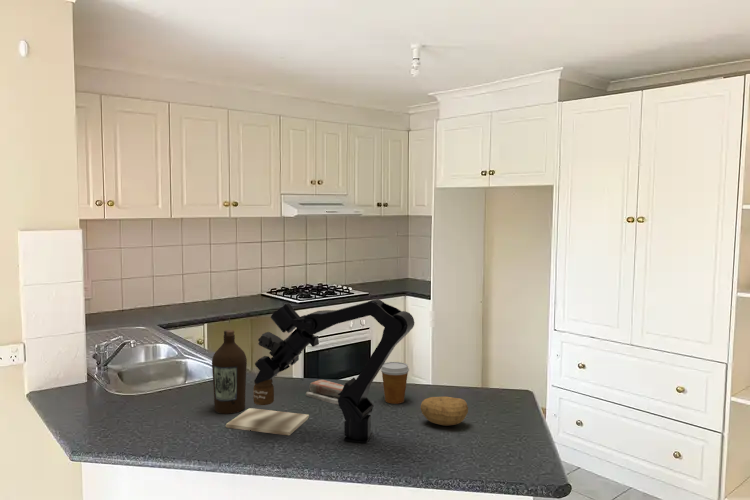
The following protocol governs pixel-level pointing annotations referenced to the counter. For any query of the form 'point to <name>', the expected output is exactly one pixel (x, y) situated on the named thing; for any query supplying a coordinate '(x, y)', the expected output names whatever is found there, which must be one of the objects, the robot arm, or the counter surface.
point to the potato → (444, 410)
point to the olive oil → (229, 376)
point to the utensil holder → (263, 392)
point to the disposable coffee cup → (394, 381)
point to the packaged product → (325, 391)
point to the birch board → (268, 421)
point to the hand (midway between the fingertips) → (259, 379)
